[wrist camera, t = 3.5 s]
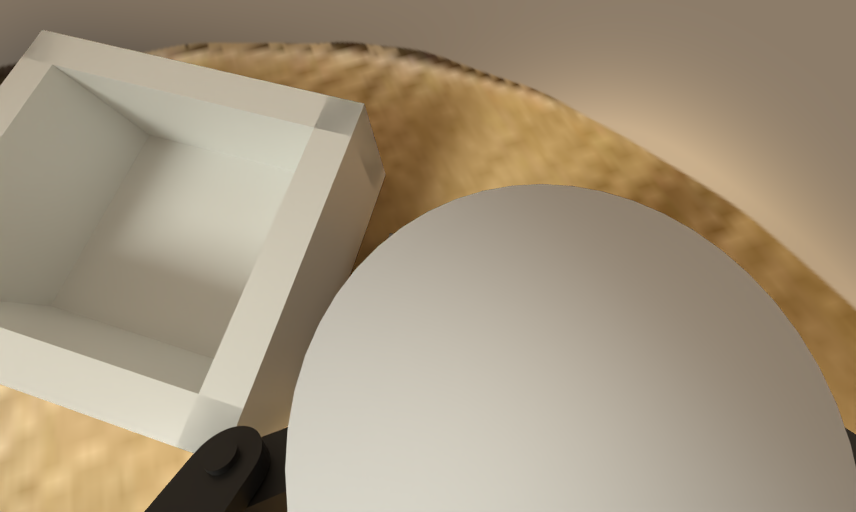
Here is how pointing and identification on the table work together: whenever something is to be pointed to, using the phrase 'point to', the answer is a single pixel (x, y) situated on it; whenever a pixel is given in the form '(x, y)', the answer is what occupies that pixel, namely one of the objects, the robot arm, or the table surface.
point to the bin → (171, 235)
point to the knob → (560, 372)
